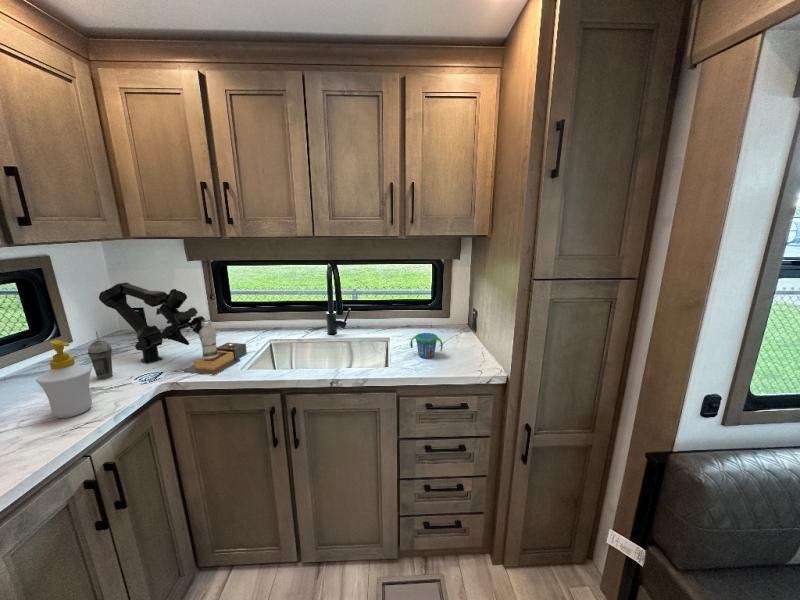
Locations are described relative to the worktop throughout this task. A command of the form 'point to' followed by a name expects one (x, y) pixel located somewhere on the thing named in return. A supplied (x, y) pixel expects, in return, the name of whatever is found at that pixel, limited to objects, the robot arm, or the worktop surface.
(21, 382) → the worktop surface
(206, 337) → the plastic bottle
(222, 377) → the worktop surface
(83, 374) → the soap bottle
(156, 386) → the worktop surface
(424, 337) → the snack cup
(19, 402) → the worktop surface
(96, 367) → the beverage cup
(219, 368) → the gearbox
